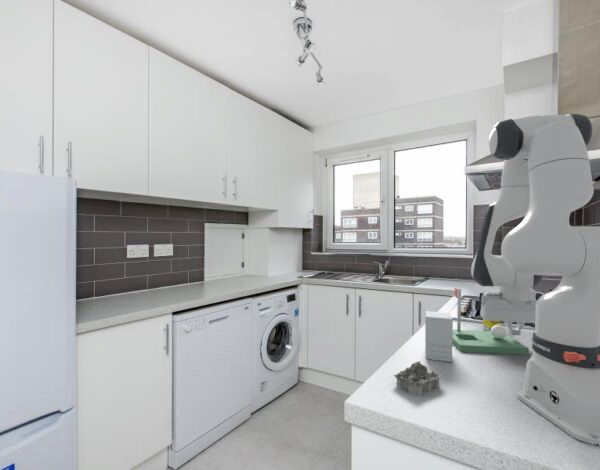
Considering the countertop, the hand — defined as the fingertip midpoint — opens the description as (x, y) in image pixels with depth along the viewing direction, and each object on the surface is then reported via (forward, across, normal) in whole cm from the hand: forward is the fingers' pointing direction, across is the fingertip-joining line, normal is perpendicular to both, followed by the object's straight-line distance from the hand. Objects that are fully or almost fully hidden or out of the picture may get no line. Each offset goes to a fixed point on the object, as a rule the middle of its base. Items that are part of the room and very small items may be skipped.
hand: (514, 334), depth 105 cm
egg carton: (+4, -38, -33) cm, 50 cm away
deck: (+4, -10, +2) cm, 11 cm away
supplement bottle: (+4, 0, +16) cm, 17 cm away
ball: (-1, -5, 0) cm, 5 cm away
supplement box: (+4, -28, -13) cm, 31 cm away
